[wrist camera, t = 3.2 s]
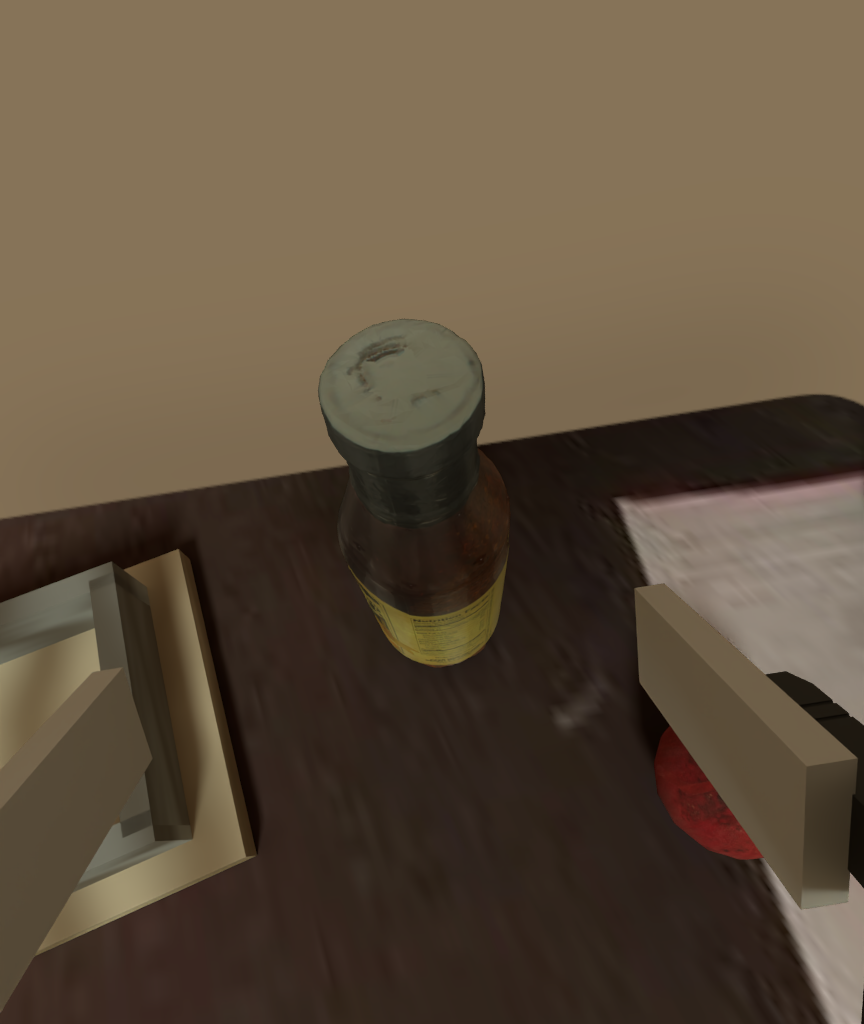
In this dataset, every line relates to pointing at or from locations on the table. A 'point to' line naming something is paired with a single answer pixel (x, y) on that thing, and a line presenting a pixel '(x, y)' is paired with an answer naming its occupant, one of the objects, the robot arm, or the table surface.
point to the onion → (697, 801)
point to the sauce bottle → (418, 487)
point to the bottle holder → (163, 715)
